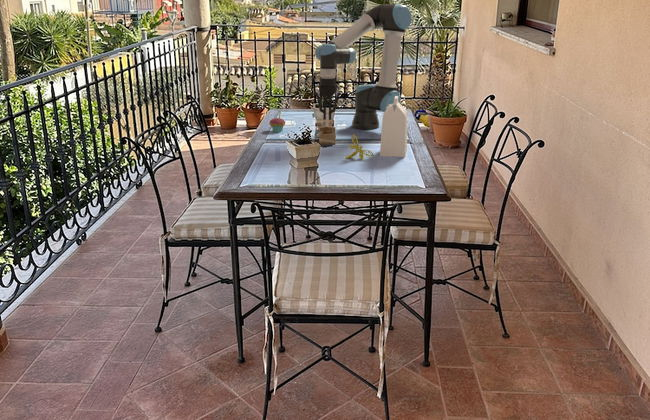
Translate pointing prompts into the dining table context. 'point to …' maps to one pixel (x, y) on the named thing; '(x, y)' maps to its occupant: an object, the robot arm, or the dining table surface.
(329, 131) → the walnut bar
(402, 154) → the milk
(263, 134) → the dining table surface
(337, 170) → the dining table surface
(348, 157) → the decorative insect
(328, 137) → the birch cradle
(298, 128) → the dining table surface
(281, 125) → the cupcake
